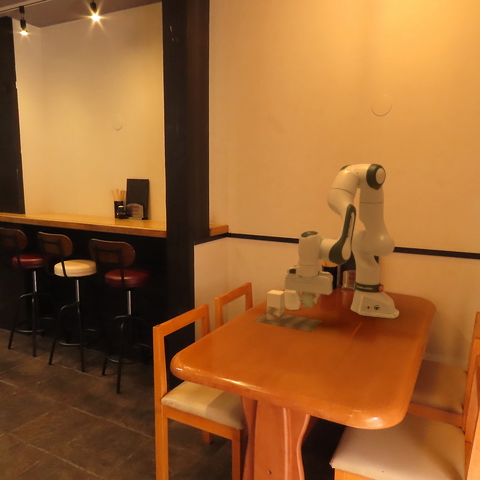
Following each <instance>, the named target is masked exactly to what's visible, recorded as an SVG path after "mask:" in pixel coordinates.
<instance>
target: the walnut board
mask: <svg viewBox="0 0 480 480" xmlns="http://www.w3.org/2000/svg"><path fill="white" fill-rule="evenodd" d="M253 322H255V323H261V324H265V325H272V326H278V327H282V328H288V329H293V330H299V331H304V332H310V333H312V332H313V331H314V330H315V329H316V328H317V327H318V326H319V325H320V324H321V323H322V322H323V320H322V319H320V320H319V319H314V318H309V317H304V316H297V315H292V314H287V313H286V314H285V313H284V318H283V319H282V320H281V321H279V322H278V321H273V320H267V311H266V312H264V313H263V314H262V315H260V316H258V317H257V318H255V319H254V320H253Z"/></svg>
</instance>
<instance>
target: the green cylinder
mask: <svg viewBox="0 0 480 480" xmlns="http://www.w3.org/2000/svg"><path fill="white" fill-rule="evenodd" d="M301 296H302V301H301V306H302V307H303V308H312V307H314V304H315V303H313V299H314V298H315V293H310V292H303V293H301Z"/></svg>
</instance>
